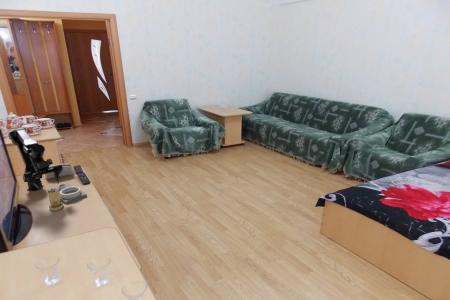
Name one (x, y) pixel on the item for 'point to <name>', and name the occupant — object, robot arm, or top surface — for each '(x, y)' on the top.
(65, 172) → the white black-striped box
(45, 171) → the robot arm
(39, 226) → the top surface
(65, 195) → the board
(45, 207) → the top surface
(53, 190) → the gold pepper grinder
